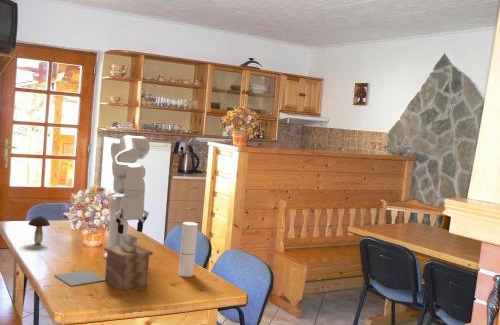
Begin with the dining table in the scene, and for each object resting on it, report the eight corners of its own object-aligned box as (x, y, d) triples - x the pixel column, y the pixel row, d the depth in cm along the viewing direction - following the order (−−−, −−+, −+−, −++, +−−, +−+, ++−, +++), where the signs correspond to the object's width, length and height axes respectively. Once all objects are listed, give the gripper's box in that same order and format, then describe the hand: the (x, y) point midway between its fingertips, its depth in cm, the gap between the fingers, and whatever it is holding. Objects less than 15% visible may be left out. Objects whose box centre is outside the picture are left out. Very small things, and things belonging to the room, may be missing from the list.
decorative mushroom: (46, 241, 284) (48, 214, 283) (50, 246, 274) (52, 218, 273) (25, 241, 278) (27, 214, 277) (28, 246, 269) (30, 218, 268)
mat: (87, 271, 238) (87, 270, 238) (105, 280, 227) (105, 279, 227) (54, 276, 227) (54, 275, 227) (71, 286, 215) (71, 285, 215)
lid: (133, 246, 236) (134, 231, 235) (152, 254, 225) (153, 238, 225) (104, 250, 225) (105, 233, 225) (122, 258, 215) (123, 241, 214)
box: (130, 277, 236) (132, 247, 234) (146, 285, 226) (149, 254, 225) (105, 281, 226) (107, 250, 225) (120, 290, 217) (123, 257, 216)
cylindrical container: (195, 273, 250) (200, 223, 248) (189, 277, 243) (193, 225, 241) (182, 271, 252) (186, 221, 250) (175, 274, 246) (180, 223, 244)
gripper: (145, 192, 232) (142, 229, 233) (110, 192, 220) (107, 232, 221) (154, 194, 227) (151, 232, 228) (120, 195, 214) (117, 235, 215)
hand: (130, 232), depth 224 cm, fingers open, 9 cm apart
